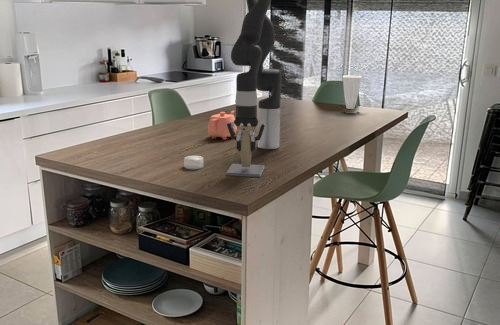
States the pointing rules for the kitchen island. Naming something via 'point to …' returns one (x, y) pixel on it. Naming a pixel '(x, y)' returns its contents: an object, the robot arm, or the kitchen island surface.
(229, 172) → the coaster
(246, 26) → the robot arm
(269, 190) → the kitchen island surface
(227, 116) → the teapot
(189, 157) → the white dome knob
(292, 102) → the kitchen island surface
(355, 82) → the cup
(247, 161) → the handle
